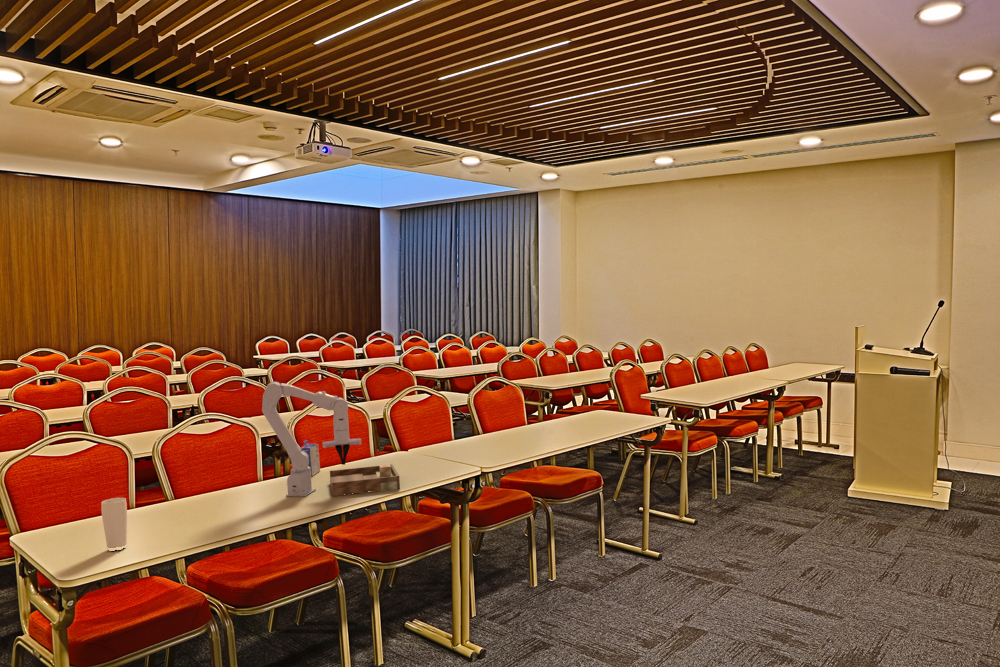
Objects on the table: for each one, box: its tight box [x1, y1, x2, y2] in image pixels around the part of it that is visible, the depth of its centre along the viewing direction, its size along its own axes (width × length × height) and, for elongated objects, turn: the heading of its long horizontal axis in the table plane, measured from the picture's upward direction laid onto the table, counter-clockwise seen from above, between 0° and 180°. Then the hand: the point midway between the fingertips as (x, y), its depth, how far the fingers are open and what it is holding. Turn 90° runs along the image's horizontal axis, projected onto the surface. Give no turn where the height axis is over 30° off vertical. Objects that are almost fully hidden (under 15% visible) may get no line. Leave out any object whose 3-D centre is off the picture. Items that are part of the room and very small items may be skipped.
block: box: [378, 464, 391, 477], centre depth 285 cm, size 4×4×4 cm
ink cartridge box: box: [300, 439, 321, 477], centre depth 308 cm, size 10×6×14 cm, turn 174°
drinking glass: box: [100, 497, 128, 548], centre depth 219 cm, size 7×7×15 cm
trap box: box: [329, 463, 401, 497], centre depth 283 cm, size 25×22×5 cm
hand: (343, 464), depth 281 cm, fingers closed
